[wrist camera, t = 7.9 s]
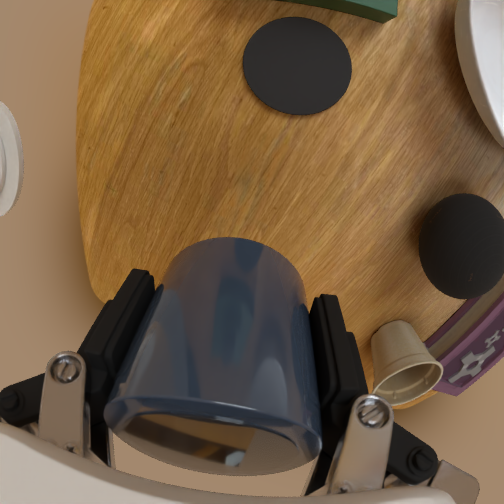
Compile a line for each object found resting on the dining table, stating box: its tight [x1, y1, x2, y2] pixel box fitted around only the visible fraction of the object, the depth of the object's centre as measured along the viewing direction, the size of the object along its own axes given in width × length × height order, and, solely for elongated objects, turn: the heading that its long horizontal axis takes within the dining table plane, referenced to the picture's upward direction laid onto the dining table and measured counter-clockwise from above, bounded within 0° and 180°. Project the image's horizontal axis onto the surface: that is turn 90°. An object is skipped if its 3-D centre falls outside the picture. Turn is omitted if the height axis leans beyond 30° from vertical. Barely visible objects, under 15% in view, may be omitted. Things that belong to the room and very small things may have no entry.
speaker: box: [419, 193, 504, 299], centre depth 22 cm, size 10×10×10 cm
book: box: [423, 274, 504, 396], centre depth 31 cm, size 25×16×5 cm, turn 150°
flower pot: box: [371, 320, 443, 406], centre depth 31 cm, size 9×9×9 cm
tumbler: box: [103, 237, 323, 476], centre depth 8 cm, size 6×6×6 cm
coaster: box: [243, 17, 352, 115], centre depth 20 cm, size 9×9×1 cm
